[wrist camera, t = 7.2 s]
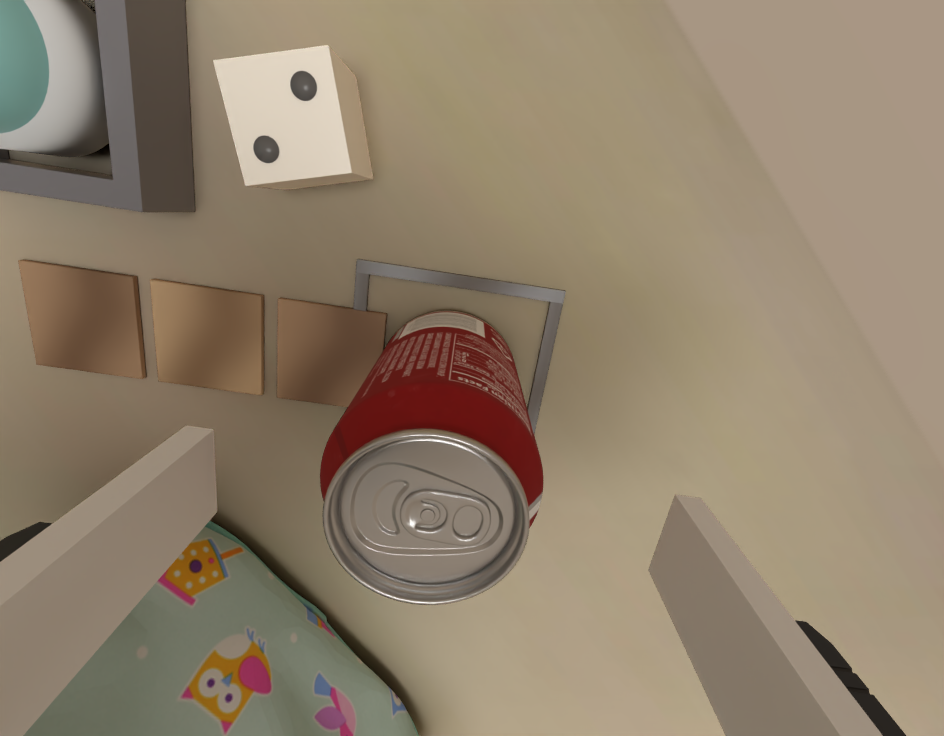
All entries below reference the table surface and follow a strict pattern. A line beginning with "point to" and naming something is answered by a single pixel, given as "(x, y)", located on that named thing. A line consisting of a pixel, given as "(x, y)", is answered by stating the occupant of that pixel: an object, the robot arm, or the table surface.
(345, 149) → the die
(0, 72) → the dome
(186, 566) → the lunch box
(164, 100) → the dome housing
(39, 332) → the track
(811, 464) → the table surface
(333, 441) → the soda can
